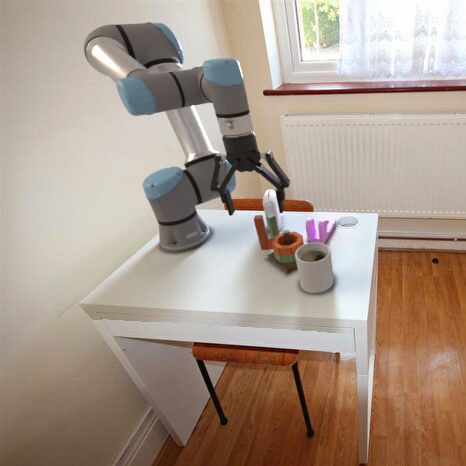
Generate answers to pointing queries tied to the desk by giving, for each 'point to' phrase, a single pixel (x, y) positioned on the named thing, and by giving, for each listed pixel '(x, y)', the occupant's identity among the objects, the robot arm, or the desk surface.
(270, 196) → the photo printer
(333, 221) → the bracket
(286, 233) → the peg stand
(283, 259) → the sage ring
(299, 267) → the mug
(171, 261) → the desk surface
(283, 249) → the rust ring
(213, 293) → the desk surface
